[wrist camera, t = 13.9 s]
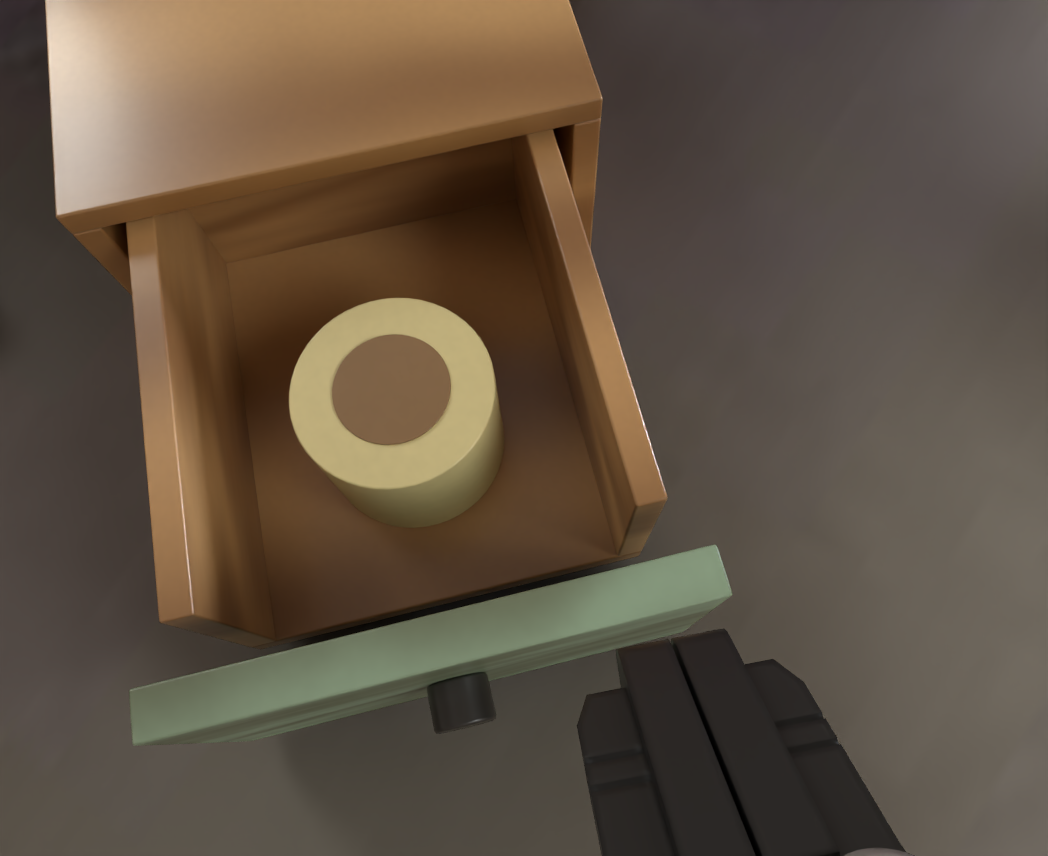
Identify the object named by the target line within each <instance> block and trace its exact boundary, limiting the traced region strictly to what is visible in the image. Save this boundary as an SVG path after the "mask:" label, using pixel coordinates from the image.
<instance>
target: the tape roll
mask: <svg viewBox="0 0 1048 856" xmlns="http://www.w3.org/2000/svg"><path fill="white" fill-rule="evenodd" d="M289 410H290V418H291V421H292V425H293V429H294V431H295V433H296V436H297V438H298V440H299V442H300V444H301V445H302V447H303V448H304V450H305V452H306V453H307V454H308V455H309V456H310V457H311V459H312V460H313V461H314V462H315V463H316V464H317V465H318V467H319V468H320V469H321V470H322V471H323V472H324V473H325V474H326V476H327V477H328V478H329V479H330V480H331V481H332V482H333V483H334V484H335V486H336V487H337V488H338V489H339V490H340V491H341V492H342V493H343V495H344V496H345V497H346V498H347V499H348V500H349V501H350V502H351V504H353V505H354V506H355V507H356V508H357V509H358V510H360V511H361V512H362V513H364V514H366V515H367V516H369V517H370V518H373V519H375V520H377V521H379V522H382V523H385V524H388V525H392V526H398V527H408V528H417V527H427V526H431V525H436V524H439V523H442V522H445V521H448V520H450V519H452V518H454V517H456V516H458V515H460V514H462V513H463V512H464V511H466V510H467V509H469V508H470V507H471V506H473V505H474V504H475V503H476V502H477V501H478V500H479V499H480V498H481V497H482V496H483V495H484V493H485V492H486V491H487V490H488V488H489V487H490V485H491V484H492V482H493V480H494V478H495V476H496V474H497V472H498V470H499V467H500V464H501V461H502V456H503V451H504V428H503V422H502V416H501V410H500V404H499V398H498V391H497V385H496V379H495V373H494V369H493V365H492V361H491V358H490V356H489V353H488V351H487V349H486V347H485V345H484V343H483V342H482V340H481V339H480V337H479V336H478V335H477V333H476V332H475V331H474V330H473V329H472V328H471V327H470V326H469V325H468V324H467V323H466V322H465V321H464V320H463V319H461V318H460V317H459V316H457V315H456V314H454V313H453V312H451V311H449V310H447V309H446V308H444V307H441V306H439V305H436V304H434V303H431V302H427V301H423V300H418V299H412V298H386V299H379V300H375V301H370V302H367V303H364V304H361V305H358V306H355V307H353V308H351V309H349V310H347V311H345V312H343V313H341V314H340V315H338V316H337V317H335V318H333V319H332V320H331V321H330V322H328V323H327V324H326V325H324V326H323V327H322V328H321V329H320V330H319V331H318V332H317V333H316V334H315V335H314V337H313V338H312V339H311V340H310V342H309V343H308V344H307V345H306V347H305V349H304V350H303V352H302V354H301V355H300V357H299V359H298V362H297V364H296V366H295V369H294V372H293V375H292V379H291V384H290V390H289Z"/></svg>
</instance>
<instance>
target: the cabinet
mask: <svg viewBox="0 0 1048 856" xmlns="http://www.w3.org/2000/svg"><path fill="white" fill-rule="evenodd" d="M45 9H46V30H47V50H48V70H49V91H50V111H51V131H52V152H53V172H54V192H55V213H56V218H57V219H58V220H59V221H60V222H61V224H62V225H63V226H64V227H65V228H66V229H67V230H68V231H69V232H70V233H72V234H73V235H74V237H75V238H76V239H77V240H78V241H79V242H80V243H81V244H82V245H83V246H84V247H85V248H86V249H87V250H88V251H89V252H90V253H91V254H92V255H93V256H94V257H95V258H96V259H97V260H98V261H99V262H100V264H101V265H102V266H103V267H104V268H105V269H106V270H107V271H108V272H109V273H110V274H111V275H112V276H113V277H114V278H115V279H116V280H117V281H118V282H119V283H120V284H121V285H122V286H123V287H124V288H125V289H126V290H127V291H128V292H129V293H130V294H131V295H132V290H131V278H130V266H129V254H128V243H127V231H126V222H130V221H134V220H139V219H143V218H148V217H152V216H157V215H162V214H166V213H171V212H175V211H180V210H184V209H189V208H194V207H198V206H203V205H207V204H212V203H216V202H221V201H226V200H230V199H235V198H239V197H244V196H248V195H253V194H258V193H262V192H267V191H271V190H276V189H280V188H285V187H289V186H294V185H299V184H303V183H308V182H312V181H317V180H321V179H326V178H331V177H335V176H340V175H344V174H349V173H353V172H358V171H363V170H367V169H372V168H376V167H381V166H385V165H390V164H395V163H399V162H404V161H408V160H413V159H417V158H422V157H427V156H431V155H436V154H440V153H445V152H449V151H454V150H459V149H463V148H468V147H472V146H477V145H481V144H486V143H491V142H495V141H500V140H504V139H509V138H513V137H518V136H522V135H527V134H532V133H536V132H541V131H545V130H550V129H553V131H554V134H555V137H556V140H557V144H558V147H559V150H560V153H561V156H562V160H563V163H564V166H565V169H566V172H567V176H568V179H569V182H570V185H571V188H572V192H573V195H574V198H575V201H576V205H577V208H578V211H579V214H580V217H581V221H582V224H583V227H584V230H585V233H586V237H587V240H588V243H589V246H590V249H591V237H592V224H593V212H594V199H595V186H596V174H597V161H598V148H599V135H600V123H601V113H602V100H603V98H602V95H601V92H600V89H599V86H598V83H597V80H596V77H595V75H594V72H593V69H592V66H591V63H590V60H589V57H588V54H587V51H586V48H585V45H584V43H583V40H582V37H581V34H580V31H579V28H578V25H577V22H576V19H575V16H574V13H573V10H572V8H571V5H570V2H569V0H45Z"/></svg>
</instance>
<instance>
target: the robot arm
mask: <svg viewBox="0 0 1048 856" xmlns="http://www.w3.org/2000/svg"><path fill="white" fill-rule="evenodd" d="M616 657H617V664H618V671H619V677H620V683H621V688H620V689H615V690H610V691H605V692H600V693H594V694H589V695H587V696H586V699H585V702H584V705H583V709H582V712H581V715H580V718H579V721H578V724H577V728H578V734H579V739H580V744H581V750H582V755H583V761H584V766H585V771H586V777H587V782H588V787H589V793H590V798H591V804H592V809H593V814H594V819H595V824H596V829H597V834H598V839H599V844H600V849H601V854H602V856H914V855H912V854H909V853H907V852H906V851H905V850H904V848H903V847H902V846H901V844H900V843H899V841H898V839H897V838H896V836H895V834H894V833H893V831H892V829H891V828H890V826H889V824H888V823H887V821H886V819H885V818H884V816H883V814H882V813H881V811H880V809H879V808H878V806H877V804H876V803H875V801H874V799H873V797H872V796H871V794H870V792H869V791H868V789H867V787H866V786H865V784H864V782H863V781H862V779H861V777H860V776H859V774H858V772H857V771H856V769H855V767H854V766H853V764H852V762H851V761H850V759H849V757H848V756H847V754H846V752H845V750H844V749H843V747H842V745H841V744H840V745H839V744H838V741H837V737H836V735H835V734H834V732H833V730H832V729H831V727H830V725H829V724H828V722H827V720H826V719H824V718H823V716H822V712H821V710H820V709H819V707H818V705H817V704H816V702H815V700H814V698H813V697H812V695H811V693H810V692H809V690H808V688H807V687H806V685H805V683H804V682H803V681H802V680H800V679H799V678H798V677H796V676H795V675H794V674H792V673H791V672H790V671H788V670H787V669H786V668H784V667H783V666H782V665H780V664H779V663H778V662H776V661H775V660H774V659H771V660H765V661H760V662H755V663H750V664H745V665H744V663H743V661H742V659H741V657H740V655H739V653H738V651H737V649H736V647H735V645H734V643H733V641H732V639H731V637H730V636H729V634H728V632H727V631H726V630H725V629H718V630H713V631H708V632H703V633H698V634H692V635H687V636H682V637H677V638H672V639H671V643H670V641H669V640H668V639H665V640H660V641H655V642H650V643H645V644H640V645H634V646H629V647H624V648H619V649H616Z"/></svg>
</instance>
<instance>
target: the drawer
mask: <svg viewBox="0 0 1048 856" xmlns="http://www.w3.org/2000/svg"><path fill="white" fill-rule="evenodd" d="M126 231H127V243H128V254H129V266H130V278H131V290H132V302H133V314H134V326H135V338H136V350H137V362H138V373H139V385H140V397H141V409H142V421H143V433H144V445H145V457H146V469H147V481H148V492H149V504H150V516H151V528H152V540H153V552H154V564H155V576H156V588H157V600H158V611H159V621H160V623H163V624H166V625H170V626H174V627H178V628H181V629H185V630H189V631H192V632H196V633H200V634H203V635H207V636H211V637H215V638H218V639H222V640H226V641H229V642H233V643H237V644H240V645H244V646H248V647H253V648H257V649H264V648H268V647H272V646H276V645H281V644H285V643H289V642H293V641H297V640H301V639H305V638H309V637H313V636H317V635H321V634H325V633H329V632H333V631H337V630H341V629H345V628H349V627H353V626H357V625H362V624H366V623H370V622H374V621H378V620H382V619H386V618H390V617H394V616H398V615H402V614H406V613H410V612H414V611H418V610H422V609H426V608H430V607H434V606H438V605H442V604H447V603H451V602H455V601H459V600H463V599H467V598H471V597H475V596H479V595H483V594H487V593H491V592H495V591H499V590H503V589H507V588H511V587H515V586H519V585H523V584H528V583H532V582H536V581H540V580H544V579H548V578H552V577H556V576H560V575H564V574H568V573H572V572H576V571H580V570H584V569H588V568H592V567H596V566H600V565H604V564H608V563H613V562H617V561H621V560H625V559H629V558H633V557H637V556H639V555H640V553H641V550H642V549H643V547H644V545H645V543H646V541H647V539H648V537H649V535H650V533H651V531H652V529H653V527H654V525H655V523H656V521H657V519H658V517H659V515H660V513H661V511H662V509H663V507H664V505H665V503H666V501H667V497H668V496H667V493H666V490H665V487H664V484H663V480H662V477H661V474H660V471H659V467H658V464H657V461H656V458H655V455H654V451H653V448H652V445H651V442H650V439H649V435H648V432H647V429H646V426H645V423H644V419H643V416H642V413H641V410H640V407H639V403H638V400H637V397H636V394H635V391H634V387H633V384H632V381H631V378H630V374H629V371H628V368H627V365H626V362H625V358H624V355H623V352H622V349H621V346H620V342H619V339H618V336H617V333H616V330H615V326H614V323H613V320H612V317H611V314H610V310H609V307H608V304H607V301H606V298H605V294H604V291H603V288H602V285H601V281H600V278H599V275H598V272H597V269H596V265H595V262H594V259H593V256H592V253H591V249H590V246H589V243H588V240H587V237H586V233H585V230H584V227H583V224H582V221H581V217H580V214H579V211H578V208H577V205H576V201H575V198H574V195H573V192H572V188H571V185H570V182H569V179H568V176H567V172H566V169H565V166H564V163H563V160H562V156H561V153H560V150H559V147H558V144H557V140H556V137H555V134H554V131H553V129H550V130H545V131H541V132H536V133H532V134H527V135H522V136H518V137H513V138H509V139H504V140H500V141H495V142H491V143H486V144H481V145H477V146H472V147H468V148H463V149H459V150H454V151H449V152H445V153H440V154H436V155H431V156H427V157H422V158H417V159H413V160H408V161H404V162H399V163H395V164H390V165H385V166H381V167H376V168H372V169H367V170H363V171H358V172H353V173H349V174H344V175H340V176H335V177H331V178H326V179H321V180H317V181H312V182H308V183H303V184H299V185H294V186H289V187H285V188H280V189H276V190H271V191H267V192H262V193H258V194H253V195H248V196H244V197H239V198H235V199H230V200H226V201H221V202H216V203H212V204H207V205H203V206H198V207H194V208H189V209H184V210H180V211H175V212H171V213H166V214H162V215H157V216H152V217H148V218H143V219H139V220H134V221H130V222H126ZM386 298H412V299H418V300H423V301H427V302H431V303H434V304H436V305H439V306H441V307H444V308H446V309H447V310H449V311H451V312H453V313H454V314H456V315H457V316H459V317H460V318H461V319H463V320H464V321H465V322H466V323H467V324H468V325H469V326H470V327H471V328H472V329H473V330H474V331H475V332H476V333H477V335H478V336H479V337H480V339H481V340H482V342H483V343H484V345H485V347H486V349H487V351H488V353H489V356H490V358H491V361H492V365H493V369H494V373H495V379H496V385H497V391H498V398H499V404H500V410H501V416H502V422H503V428H504V451H503V456H502V461H501V464H500V467H499V470H498V472H497V474H496V476H495V478H494V480H493V482H492V484H491V485H490V487H489V488H488V490H487V491H486V492H485V493H484V495H483V496H482V497H481V498H480V499H479V500H478V501H477V502H476V503H475V504H474V505H473V506H471V507H470V508H469V509H467V510H466V511H464V512H463V513H462V514H460V515H458V516H456V517H454V518H452V519H450V520H448V521H445V522H442V523H439V524H436V525H431V526H427V527H417V528H408V527H398V526H392V525H388V524H385V523H382V522H379V521H377V520H375V519H373V518H370V517H369V516H367V515H366V514H364V513H362V512H361V511H360V510H358V509H357V508H356V507H355V506H354V505H353V504H351V502H350V501H349V500H348V499H347V498H346V497H345V496H344V495H343V493H342V492H341V491H340V490H339V489H338V488H337V487H336V486H335V484H334V483H333V482H332V481H331V480H330V479H329V478H328V477H327V476H326V474H325V473H324V472H323V471H322V470H321V469H320V468H319V467H318V465H317V464H316V463H315V462H314V461H313V460H312V459H311V457H310V456H309V455H308V454H307V453H306V452H305V450H304V448H303V447H302V445H301V444H300V442H299V440H298V438H297V436H296V433H295V431H294V429H293V425H292V421H291V418H290V410H289V390H290V384H291V379H292V375H293V372H294V369H295V366H296V364H297V362H298V359H299V357H300V355H301V354H302V352H303V350H304V349H305V347H306V345H307V344H308V343H309V342H310V340H311V339H312V338H313V337H314V335H315V334H316V333H317V332H318V331H319V330H320V329H321V328H322V327H323V326H324V325H326V324H327V323H328V322H330V321H331V320H332V319H333V318H335V317H337V316H338V315H340V314H341V313H343V312H345V311H347V310H349V309H351V308H353V307H355V306H358V305H361V304H364V303H367V302H370V301H375V300H379V299H386ZM730 596H732V591H731V587H730V584H729V581H728V578H727V575H726V572H725V569H724V566H723V563H722V560H721V557H720V554H719V551H718V548H717V546H716V545H710V546H706V547H702V548H698V549H694V550H690V551H686V552H682V553H678V554H674V555H670V556H666V557H662V558H658V559H654V560H649V561H645V562H641V563H637V564H633V565H629V566H625V567H621V568H617V569H613V570H609V571H605V572H601V573H597V574H593V575H589V576H585V577H581V578H577V579H573V580H569V581H565V582H561V583H557V584H552V585H548V586H544V587H540V588H536V589H532V590H528V591H524V592H520V593H516V594H512V595H508V596H504V597H500V598H496V599H492V600H488V601H484V602H480V603H476V604H472V605H468V606H464V607H460V608H455V609H451V610H447V611H443V612H439V613H435V614H431V615H427V616H423V617H419V618H415V619H411V620H407V621H403V622H399V623H395V624H391V625H387V626H383V627H379V628H375V629H371V630H367V631H363V632H358V633H354V634H350V635H346V636H342V637H338V638H334V639H330V640H326V641H322V642H318V643H314V644H310V645H306V646H302V647H298V648H294V649H290V650H286V651H282V652H278V653H274V654H270V655H266V656H261V657H257V658H253V659H249V660H245V661H241V662H237V663H233V664H229V665H225V666H221V667H217V668H213V669H209V670H205V671H201V672H197V673H193V674H189V675H185V676H181V677H177V678H173V679H169V680H164V681H160V682H156V683H152V684H148V685H144V686H140V687H136V688H132V689H130V690H129V701H130V715H131V730H132V743H133V745H135V746H140V745H165V744H190V743H215V742H240V741H253V740H257V739H261V738H265V737H269V736H273V735H277V734H281V733H285V732H289V731H293V730H297V729H301V728H305V727H309V726H312V725H316V724H320V723H324V722H328V721H332V720H336V719H340V718H344V717H348V716H352V715H356V714H360V713H364V712H368V711H372V710H376V709H380V708H384V707H388V706H392V705H396V704H400V703H404V702H408V701H412V700H415V699H419V698H423V697H427V696H428V699H429V705H430V710H431V715H432V720H433V726H434V731H435V732H436V733H437V734H442V733H446V732H451V731H455V730H459V729H463V728H467V727H471V726H475V725H479V724H482V723H486V722H489V721H493V720H494V719H496V712H495V708H494V703H493V698H492V694H491V689H490V684H489V681H491V680H495V679H499V678H503V677H507V676H511V675H515V674H518V673H522V672H526V671H530V670H534V669H538V668H542V667H546V666H550V665H554V664H558V663H562V662H566V661H570V660H574V659H578V658H582V657H586V656H590V655H594V654H598V653H602V652H606V651H610V650H614V649H617V648H621V647H625V646H629V645H633V644H637V643H641V642H645V641H649V640H653V639H657V638H661V637H665V636H669V635H673V634H677V633H681V632H683V631H685V630H686V629H687V628H689V627H690V626H691V625H693V624H694V623H695V622H697V621H698V620H699V619H701V618H702V617H703V616H705V615H706V614H707V613H709V612H710V611H712V610H713V609H714V608H716V607H717V606H718V605H720V604H721V603H722V602H724V601H725V600H726V599H728V598H729V597H730Z"/></svg>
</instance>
